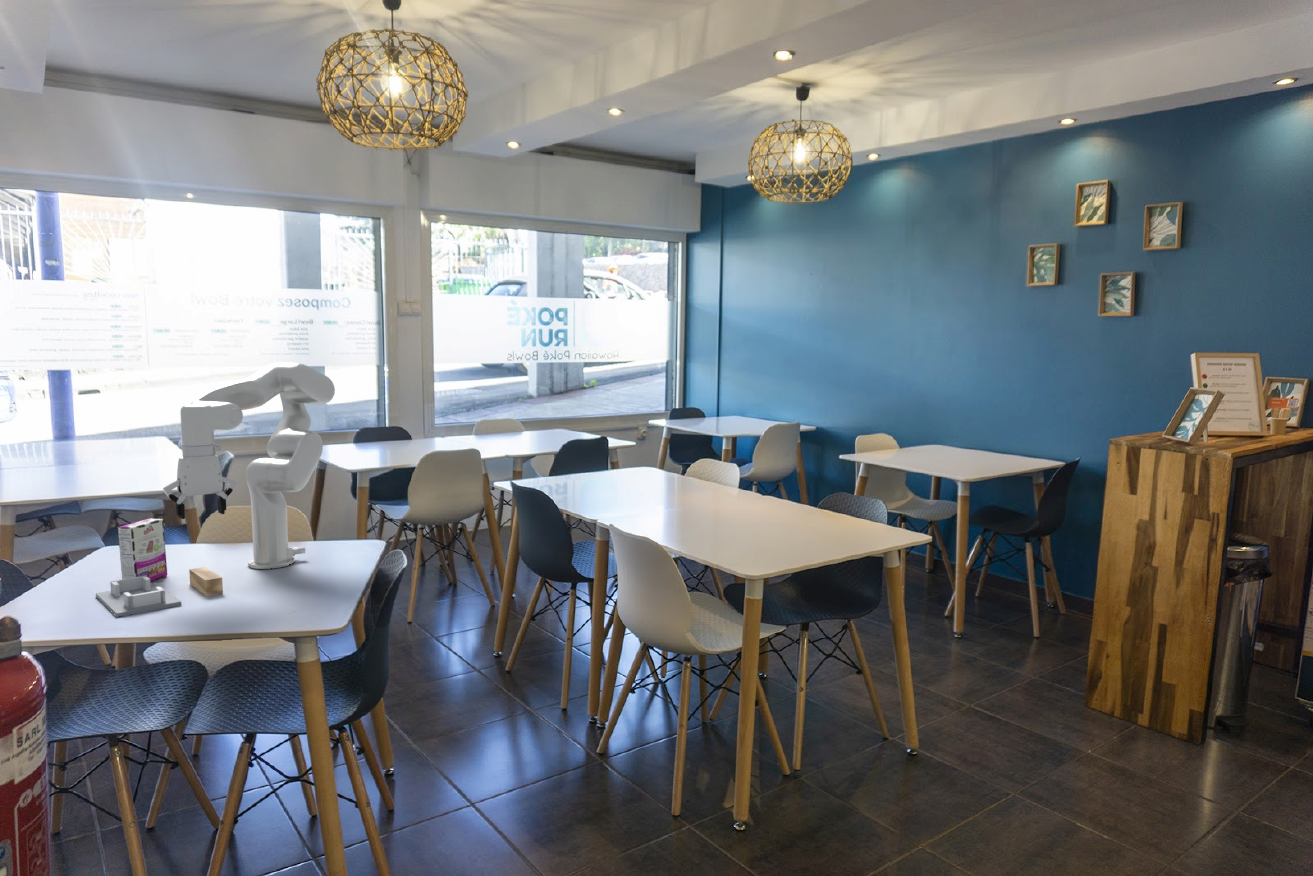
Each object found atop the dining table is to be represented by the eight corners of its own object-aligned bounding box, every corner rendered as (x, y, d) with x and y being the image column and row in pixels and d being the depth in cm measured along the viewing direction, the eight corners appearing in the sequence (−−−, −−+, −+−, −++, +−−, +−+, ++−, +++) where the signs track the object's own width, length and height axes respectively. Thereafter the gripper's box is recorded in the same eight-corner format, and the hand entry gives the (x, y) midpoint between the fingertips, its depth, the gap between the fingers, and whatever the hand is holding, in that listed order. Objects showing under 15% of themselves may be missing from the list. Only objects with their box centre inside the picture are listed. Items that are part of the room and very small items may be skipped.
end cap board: (157, 586, 230) (156, 571, 230) (181, 605, 214) (180, 589, 214) (96, 597, 220) (95, 581, 220) (116, 617, 205) (115, 601, 204)
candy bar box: (152, 575, 241) (149, 517, 239) (168, 576, 240) (164, 518, 238) (120, 586, 230) (116, 526, 228) (136, 587, 229) (132, 527, 227)
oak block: (206, 582, 235) (205, 566, 234) (223, 594, 225) (222, 577, 224) (190, 585, 232) (189, 569, 232) (206, 597, 222) (205, 580, 222)
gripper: (229, 447, 233) (231, 509, 235) (157, 452, 221) (161, 518, 223) (238, 450, 227) (241, 513, 229) (166, 455, 216) (169, 522, 217)
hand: (201, 515), depth 226 cm, fingers open, 9 cm apart
